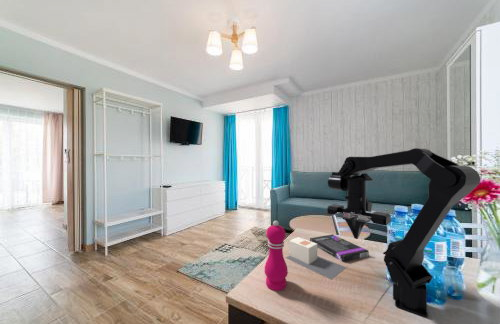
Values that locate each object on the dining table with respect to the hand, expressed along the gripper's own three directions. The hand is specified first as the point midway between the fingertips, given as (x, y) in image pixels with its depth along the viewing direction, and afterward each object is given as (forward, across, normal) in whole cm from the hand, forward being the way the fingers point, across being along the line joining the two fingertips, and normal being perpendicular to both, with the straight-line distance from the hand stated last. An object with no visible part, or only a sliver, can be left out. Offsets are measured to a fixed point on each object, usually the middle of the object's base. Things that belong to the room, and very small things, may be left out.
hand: (356, 238), depth 67 cm
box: (+13, +13, -13) cm, 22 cm away
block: (+9, +14, +5) cm, 17 cm away
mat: (+12, +13, +5) cm, 18 cm away
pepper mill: (+12, +14, +25) cm, 31 cm away
